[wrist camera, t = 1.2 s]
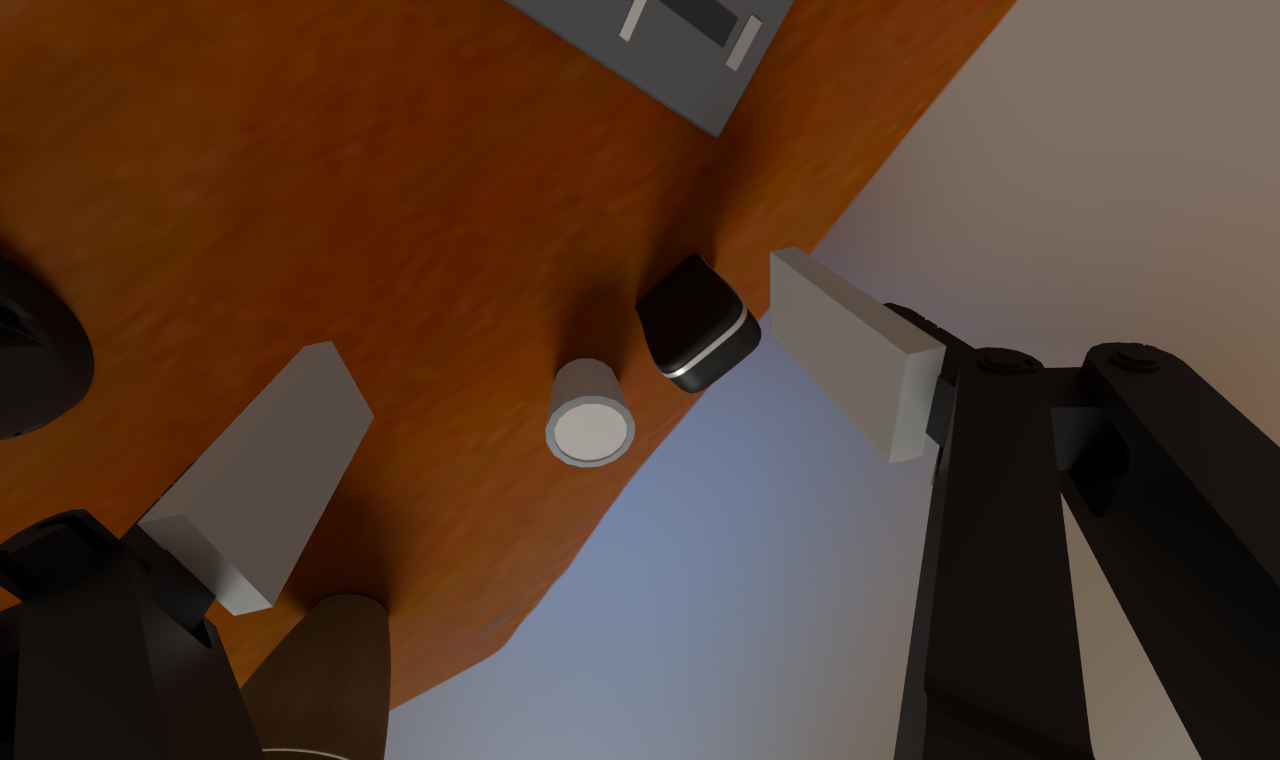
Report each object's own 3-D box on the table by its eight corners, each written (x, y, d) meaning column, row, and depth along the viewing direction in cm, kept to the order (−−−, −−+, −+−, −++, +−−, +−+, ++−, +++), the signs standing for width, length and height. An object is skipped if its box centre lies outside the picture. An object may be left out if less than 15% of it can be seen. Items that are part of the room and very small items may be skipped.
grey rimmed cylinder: (573, 337, 40) (577, 381, 34) (639, 374, 43) (653, 420, 37) (531, 397, 42) (527, 447, 36) (596, 428, 45) (602, 480, 39)
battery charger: (659, 335, 41) (692, 412, 31) (630, 305, 39) (655, 377, 30) (724, 280, 39) (780, 343, 30) (696, 247, 38) (746, 302, 28)
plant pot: (339, 549, 48) (256, 730, 34) (450, 612, 55) (417, 782, 42) (237, 616, 50) (123, 809, 37) (356, 668, 58) (297, 844, 45)
